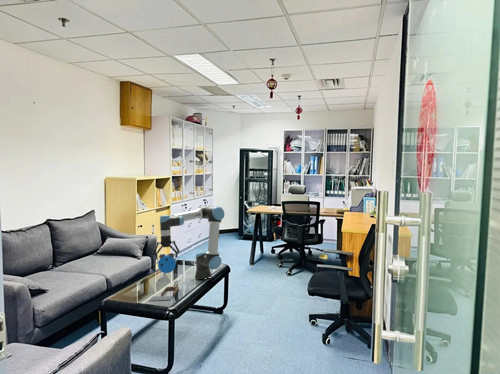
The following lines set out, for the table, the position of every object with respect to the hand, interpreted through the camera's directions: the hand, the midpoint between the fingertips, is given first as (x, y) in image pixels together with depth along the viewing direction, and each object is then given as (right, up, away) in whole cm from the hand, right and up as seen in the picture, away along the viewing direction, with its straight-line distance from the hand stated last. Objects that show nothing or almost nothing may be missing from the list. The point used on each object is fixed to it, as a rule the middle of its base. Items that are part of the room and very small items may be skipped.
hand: (166, 262), depth 259 cm
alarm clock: (0, -8, 0) cm, 8 cm away
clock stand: (+2, -25, +3) cm, 25 cm away
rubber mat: (-2, -25, -9) cm, 27 cm away
